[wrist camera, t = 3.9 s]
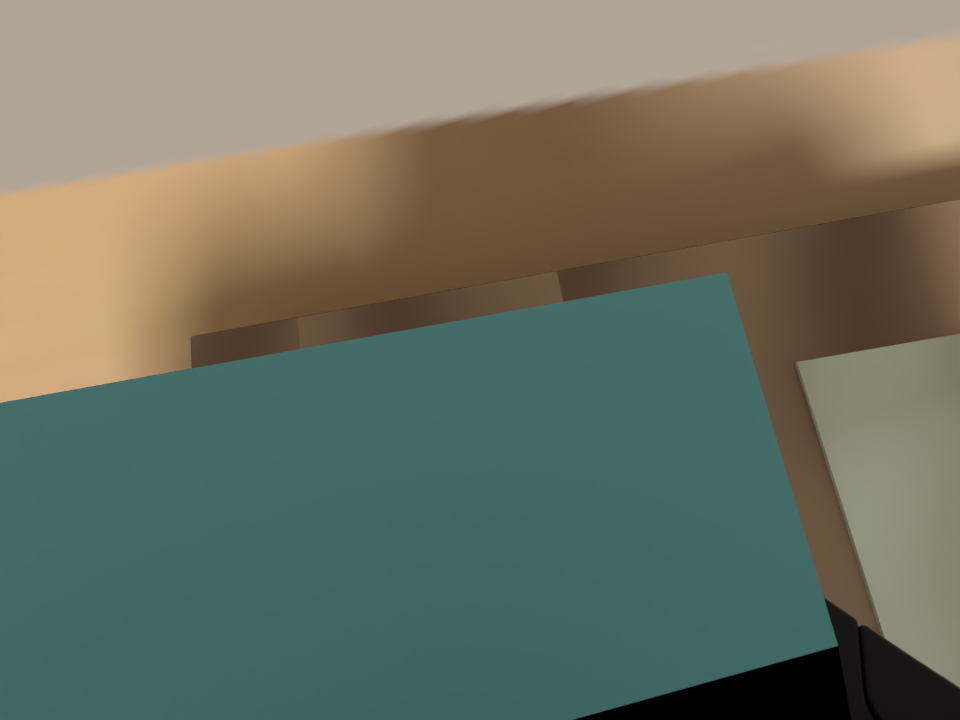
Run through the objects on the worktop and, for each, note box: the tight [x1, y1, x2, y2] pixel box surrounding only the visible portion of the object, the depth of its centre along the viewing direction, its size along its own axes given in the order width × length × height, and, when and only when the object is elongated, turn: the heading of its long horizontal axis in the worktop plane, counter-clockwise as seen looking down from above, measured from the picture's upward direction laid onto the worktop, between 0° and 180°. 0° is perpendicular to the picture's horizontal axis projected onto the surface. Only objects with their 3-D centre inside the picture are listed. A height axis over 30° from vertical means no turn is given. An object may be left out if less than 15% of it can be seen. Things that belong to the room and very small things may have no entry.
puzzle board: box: [191, 199, 960, 687], centre depth 13 cm, size 22×13×3 cm, turn 99°
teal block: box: [0, 272, 851, 720], centre depth 8 cm, size 4×4×12 cm
